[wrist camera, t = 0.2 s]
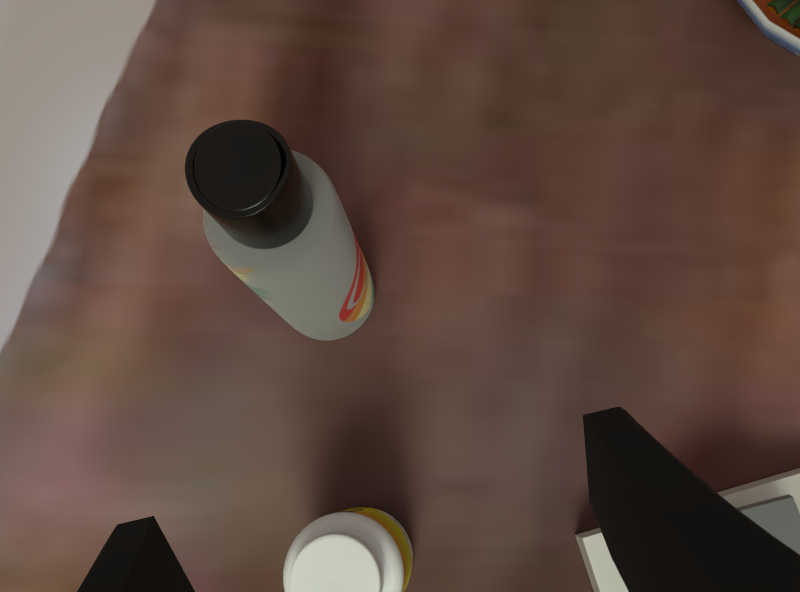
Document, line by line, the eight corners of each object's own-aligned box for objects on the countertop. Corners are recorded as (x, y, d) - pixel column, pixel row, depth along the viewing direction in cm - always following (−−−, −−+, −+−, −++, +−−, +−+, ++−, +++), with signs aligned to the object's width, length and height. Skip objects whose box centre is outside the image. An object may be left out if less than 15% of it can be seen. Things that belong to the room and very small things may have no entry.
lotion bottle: (387, 263, 46) (335, 105, 27) (360, 353, 45) (287, 256, 25) (298, 241, 47) (185, 71, 27) (270, 329, 46) (131, 217, 26)
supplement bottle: (376, 485, 43) (351, 487, 33) (433, 571, 42) (426, 599, 32) (294, 545, 43) (245, 565, 33) (350, 633, 41) (316, 681, 31)
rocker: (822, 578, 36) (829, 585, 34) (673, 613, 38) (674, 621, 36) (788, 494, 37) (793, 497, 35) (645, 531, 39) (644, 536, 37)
